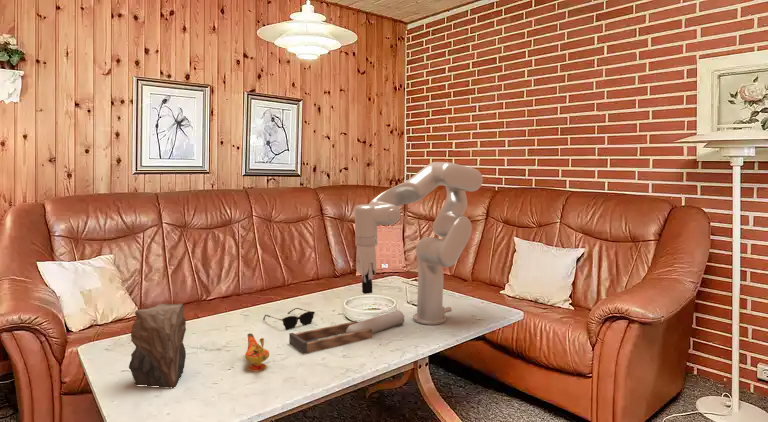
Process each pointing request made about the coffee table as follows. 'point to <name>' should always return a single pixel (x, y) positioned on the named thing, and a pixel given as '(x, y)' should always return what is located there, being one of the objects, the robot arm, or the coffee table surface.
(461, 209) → the robot arm
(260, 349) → the magic lamp
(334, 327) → the trap channel
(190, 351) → the coffee table surface
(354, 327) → the tube
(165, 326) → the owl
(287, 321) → the sunglasses
